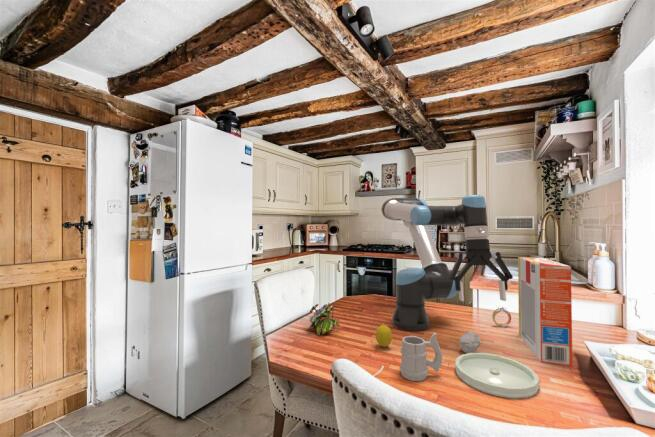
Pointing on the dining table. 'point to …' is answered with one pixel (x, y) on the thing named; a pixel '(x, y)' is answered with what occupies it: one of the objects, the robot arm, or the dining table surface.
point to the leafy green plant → (327, 321)
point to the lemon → (383, 335)
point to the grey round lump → (469, 342)
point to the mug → (418, 357)
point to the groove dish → (497, 375)
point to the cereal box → (545, 309)
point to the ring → (498, 312)
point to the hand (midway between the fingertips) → (482, 300)
